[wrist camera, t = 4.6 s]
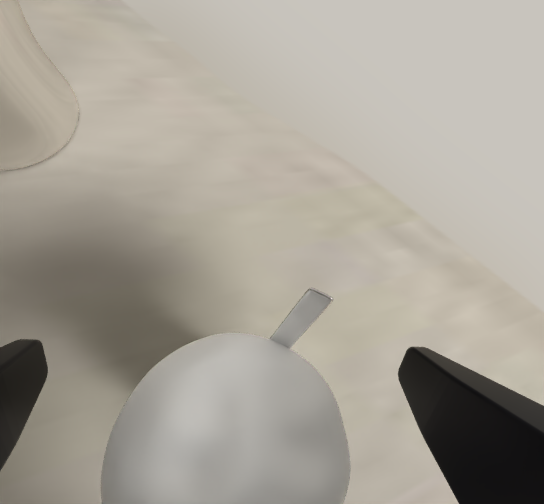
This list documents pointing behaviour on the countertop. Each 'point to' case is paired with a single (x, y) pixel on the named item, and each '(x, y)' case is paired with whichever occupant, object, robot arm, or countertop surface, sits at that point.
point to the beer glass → (30, 96)
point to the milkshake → (232, 425)
